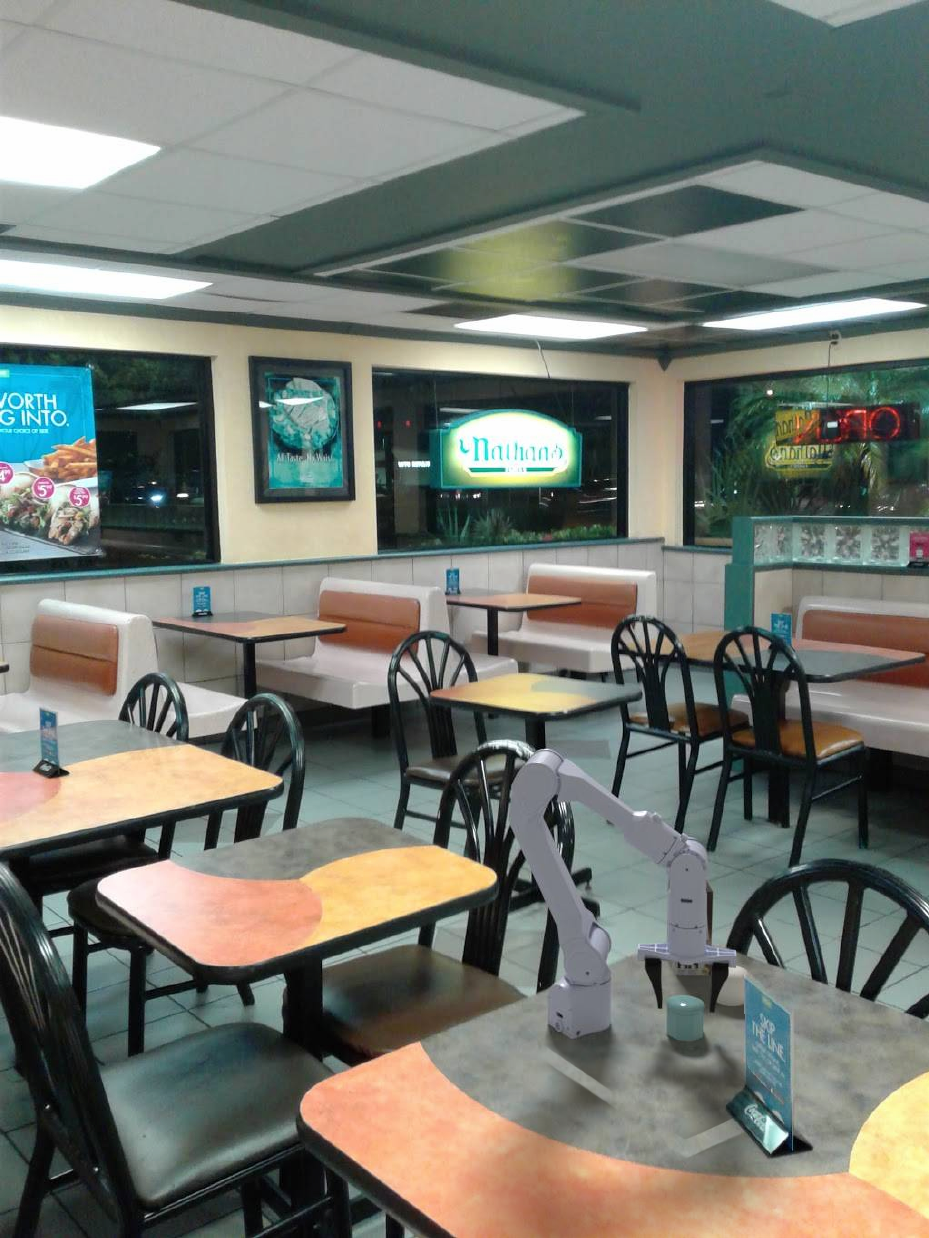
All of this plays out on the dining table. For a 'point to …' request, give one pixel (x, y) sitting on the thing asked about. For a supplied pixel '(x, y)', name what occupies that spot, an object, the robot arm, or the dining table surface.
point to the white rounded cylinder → (733, 988)
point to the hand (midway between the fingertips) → (685, 1007)
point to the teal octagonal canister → (685, 1017)
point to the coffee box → (706, 968)
